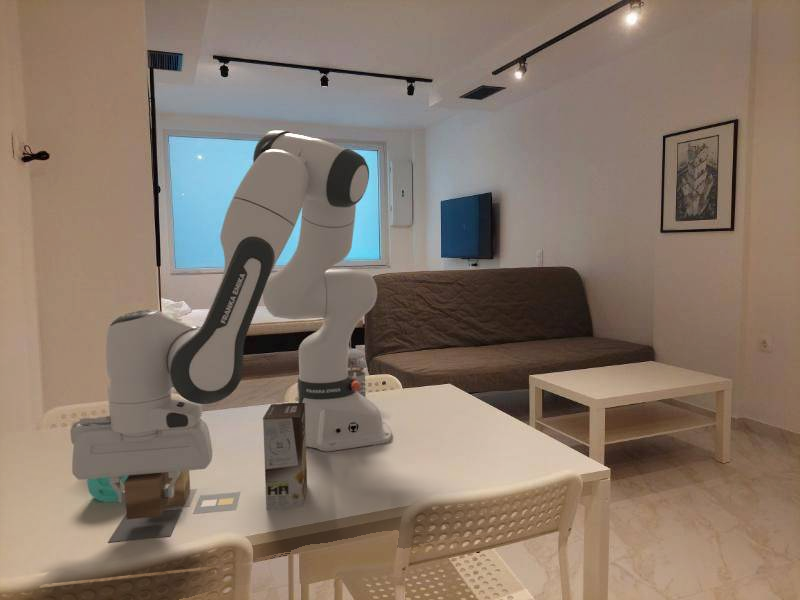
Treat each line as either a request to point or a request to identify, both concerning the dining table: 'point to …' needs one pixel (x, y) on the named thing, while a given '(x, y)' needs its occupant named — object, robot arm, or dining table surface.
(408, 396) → the dining table surface
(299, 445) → the coffee box
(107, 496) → the decorative dice
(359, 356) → the french press
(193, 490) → the code tile
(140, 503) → the walnut block
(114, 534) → the felt pad
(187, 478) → the oak block
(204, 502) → the code tile
